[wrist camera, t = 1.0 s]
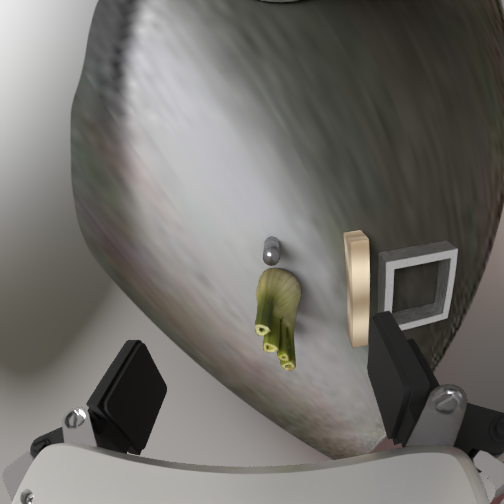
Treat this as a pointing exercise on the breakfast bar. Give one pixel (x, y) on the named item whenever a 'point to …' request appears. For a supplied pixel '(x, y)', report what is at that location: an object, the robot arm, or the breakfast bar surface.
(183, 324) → the breakfast bar surface
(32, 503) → the robot arm
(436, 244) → the frame
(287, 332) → the fennel bulb
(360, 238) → the door edge rail
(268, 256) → the pegs
